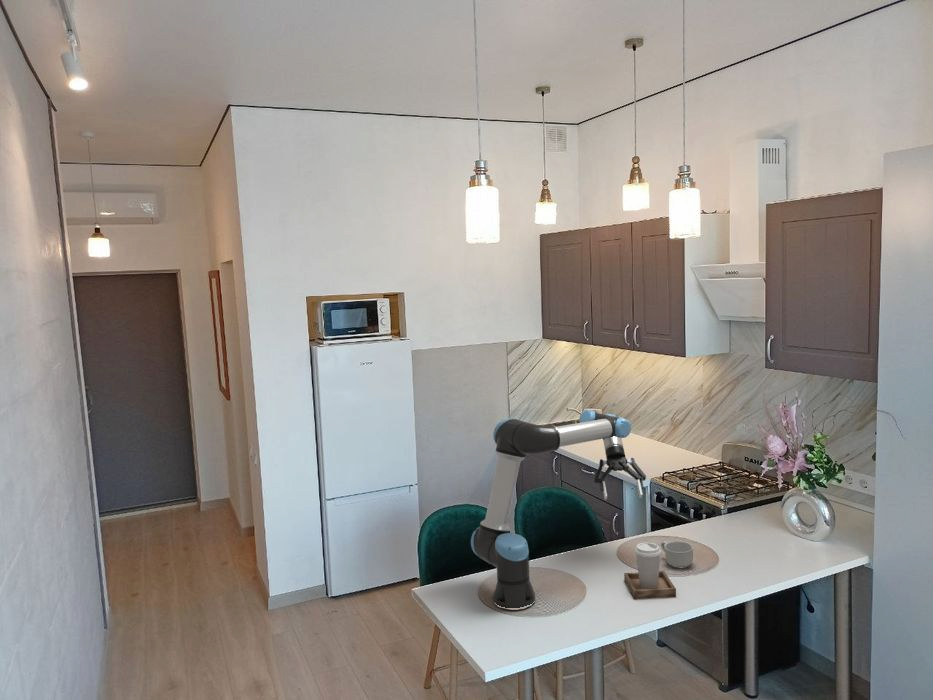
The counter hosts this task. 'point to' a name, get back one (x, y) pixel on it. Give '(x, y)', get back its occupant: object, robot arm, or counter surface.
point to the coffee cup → (648, 564)
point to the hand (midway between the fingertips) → (623, 497)
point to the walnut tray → (662, 591)
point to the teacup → (678, 553)
